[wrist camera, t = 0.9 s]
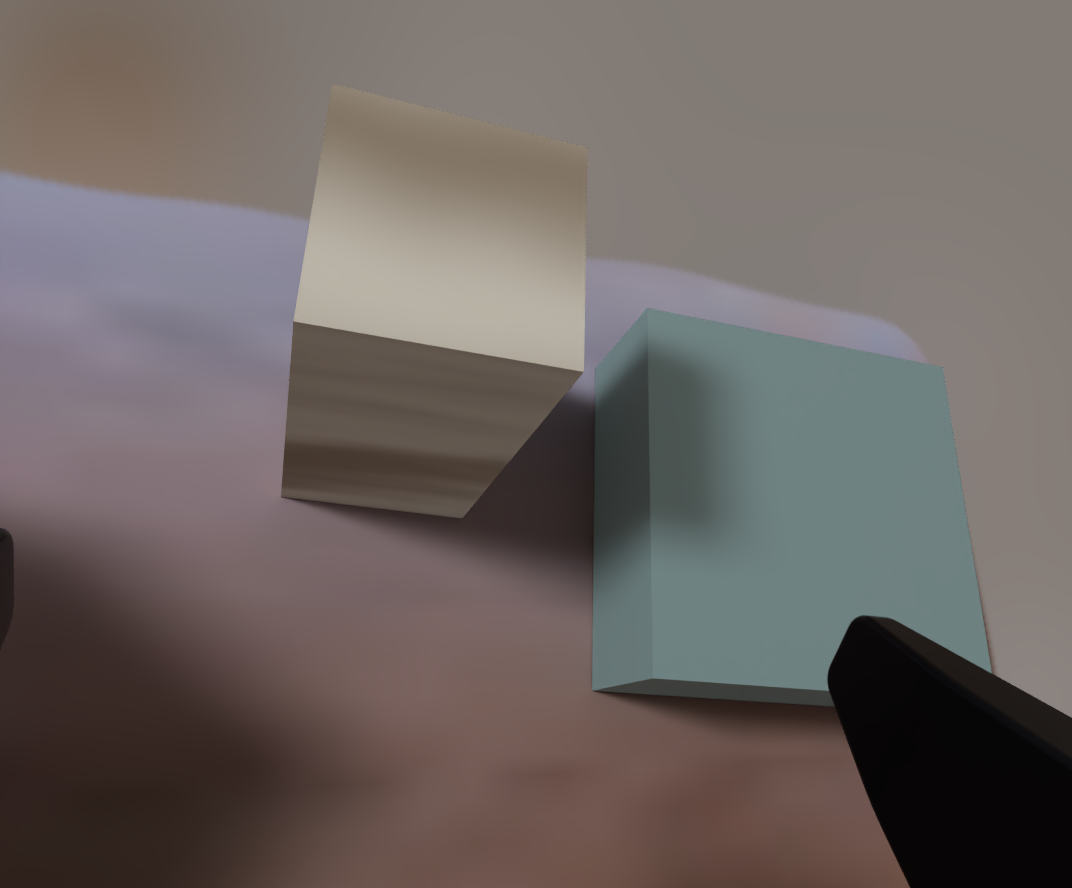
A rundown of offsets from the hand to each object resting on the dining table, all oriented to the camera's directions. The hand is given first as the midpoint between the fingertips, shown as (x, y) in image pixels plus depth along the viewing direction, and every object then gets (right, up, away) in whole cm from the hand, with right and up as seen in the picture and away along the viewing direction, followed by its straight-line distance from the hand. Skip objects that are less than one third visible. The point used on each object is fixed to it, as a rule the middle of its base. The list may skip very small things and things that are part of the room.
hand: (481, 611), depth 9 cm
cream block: (-4, +2, +15) cm, 16 cm away
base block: (+7, -1, +17) cm, 19 cm away
